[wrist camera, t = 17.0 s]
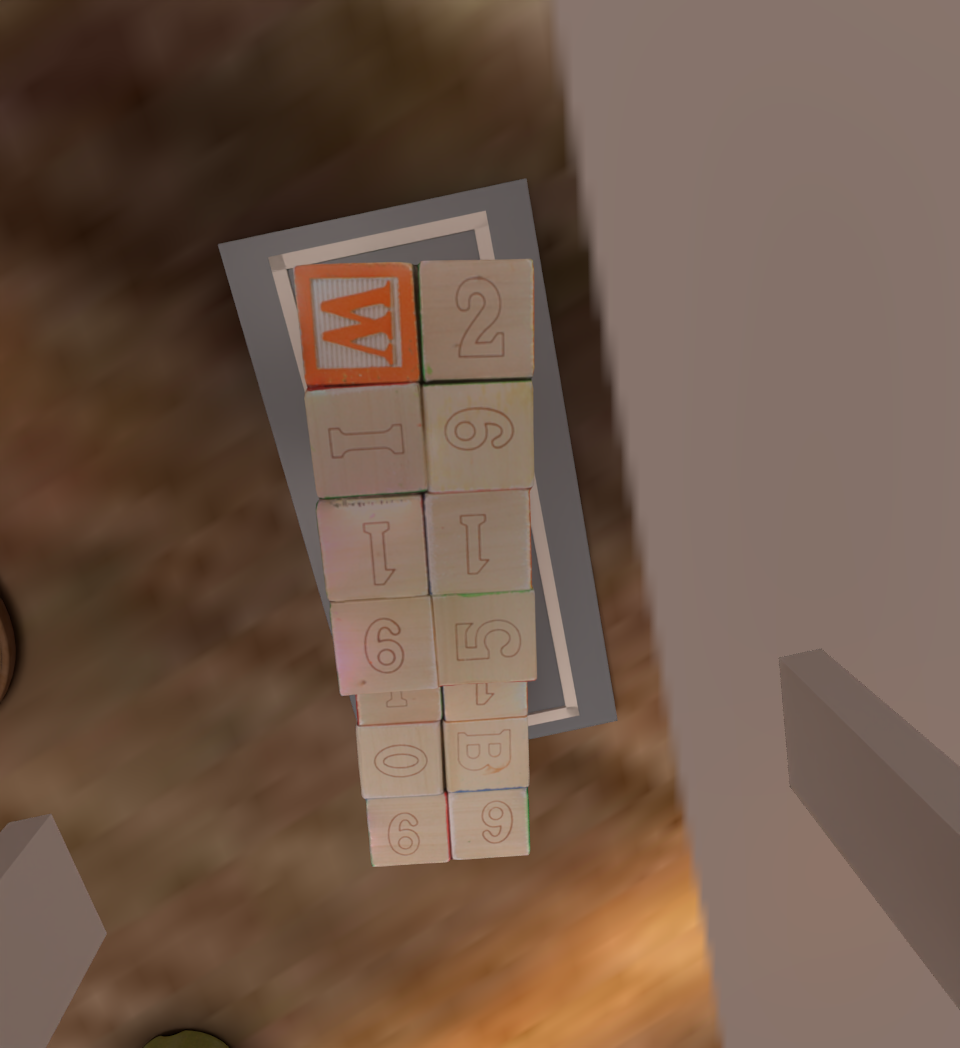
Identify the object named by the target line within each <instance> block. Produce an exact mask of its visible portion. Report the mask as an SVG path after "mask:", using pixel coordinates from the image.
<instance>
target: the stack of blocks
mask: <svg viewBox="0 0 960 1048" xmlns="http://www.w3.org/2000/svg"><path fill="white" fill-rule="evenodd" d="M293 275H294V286H295V295H296V304H297V312H298V321H299V330H300V340H301V349H302V359H303V369H304V378H305V382H306V385H307V389H306V391H305V396H304V400H305V408H306V416H307V424H308V432H309V439H310V447H311V456H312V464H313V471H314V479H315V486H316V493H317V496H318V497H319V500H318V502H317V503H316V518H317V528H318V534H319V541H320V550H321V558H322V566H323V573H324V581H325V589H326V594H327V598H328V599H329V601H330V620H331V628H332V636H333V644H334V652H335V661H336V668H337V676H338V683H339V692H340V695H341V696H346V695H355V697H356V709H357V723H356V739H357V752H358V763H359V773H360V782H361V792H362V796H363V798H364V799H366V810H367V822H368V832H369V843H370V855H371V864H372V866H373V867H375V866H393V865H407V864H423V863H442V862H448V861H449V860H451V859H457V860H461V859H478V858H492V857H507V856H520V855H529V853H530V827H529V799H528V786H529V746H528V717H527V713H528V688H527V682H528V681H535V680H536V679H537V653H536V622H535V591H534V588H533V585H532V558H531V511H530V490H531V489H532V487H533V486H534V435H533V385H532V377H533V373H534V266H533V260H532V259H506V260H434V261H421V262H420V263H419V264H418V265H413V264H412V263H406V262H376V263H338V264H307V265H297V266H294V268H293Z"/></svg>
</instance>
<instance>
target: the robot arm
mask: <svg viewBox="0 0 960 1048" xmlns="http://www.w3.org/2000/svg"><path fill="white" fill-rule="evenodd" d="M779 666H780V677H781V688H782V700H783V711H784V724H785V736H786V747H787V759H788V771H789V783H790V787H791V789H792V790H793V791H794V793H795V794H796V795H797V797H798V798H799V799H800V801H801V802H802V803H803V805H804V806H805V807H806V809H807V810H808V811H809V813H810V814H811V815H812V816H813V818H814V819H815V820H816V822H817V823H818V824H819V826H820V827H821V828H822V829H823V831H824V832H825V833H826V835H827V836H828V838H829V839H830V840H831V841H832V843H833V844H834V845H835V847H836V848H837V849H838V851H839V852H840V853H841V855H842V856H843V857H844V859H845V860H846V861H847V862H848V864H849V865H850V866H851V868H852V869H853V870H854V872H855V873H856V874H857V876H858V877H859V878H860V880H861V881H862V882H863V884H864V885H865V886H866V887H867V889H868V890H869V892H870V893H871V894H872V895H873V897H874V898H875V899H876V901H877V902H878V903H879V904H880V906H881V907H882V909H883V910H884V911H885V912H886V914H887V915H888V917H889V918H890V919H891V920H892V922H893V923H894V924H895V926H896V927H897V928H898V929H899V931H900V932H901V934H902V935H903V936H904V938H905V939H906V940H907V941H908V943H909V944H910V945H911V947H912V948H913V949H914V951H915V952H916V953H917V955H918V956H919V957H920V959H921V960H922V961H923V963H924V964H925V965H926V966H927V968H928V969H929V970H930V972H931V973H932V974H933V976H934V977H935V978H936V980H937V981H938V982H939V984H940V985H941V986H942V988H943V989H944V990H945V992H946V993H947V994H948V995H949V997H950V998H951V999H952V1001H953V1002H954V1003H955V1005H956V1006H957V1007H958V1008H959V1010H960V766H958V765H957V764H956V763H955V762H954V761H952V760H951V759H950V758H949V757H948V756H947V755H946V754H944V753H943V752H942V751H941V750H940V749H938V748H937V747H936V746H935V745H934V744H933V743H931V742H930V741H929V740H928V739H927V738H926V737H924V736H923V735H922V734H921V733H920V732H918V731H917V730H916V729H915V728H914V727H913V726H912V725H910V724H909V723H908V722H907V721H906V720H904V719H903V718H902V717H901V716H900V715H899V714H897V713H896V712H895V711H894V710H893V709H891V708H890V707H889V706H888V705H887V704H886V703H884V702H883V701H882V700H881V699H880V698H879V697H877V696H876V695H875V694H874V693H873V692H872V691H870V690H869V689H868V688H867V687H866V686H865V685H863V684H862V683H861V682H860V681H858V679H856V678H855V677H854V676H853V675H852V674H850V673H849V672H848V671H847V670H846V669H845V668H843V667H842V666H841V665H840V664H839V663H838V662H836V661H835V660H834V659H833V658H832V657H831V656H829V655H828V654H827V653H826V652H825V651H824V650H822V649H817V650H812V651H807V652H803V653H798V654H793V655H789V656H784V657H779ZM106 934H107V933H106V931H105V929H104V927H103V924H102V922H101V920H100V918H99V916H98V914H97V911H96V909H95V907H94V905H93V903H92V901H91V899H90V896H89V894H88V892H87V890H86V888H85V886H84V883H83V881H82V879H81V877H80V875H79V873H78V871H77V868H76V866H75V864H74V862H73V860H72V858H71V855H70V853H69V851H68V849H67V847H66V845H65V842H64V840H63V838H62V836H61V834H60V832H59V830H58V827H57V825H56V823H55V821H54V819H53V817H52V814H48V815H43V816H38V817H34V818H29V819H24V820H20V821H15V822H10V823H8V824H7V825H6V827H5V828H4V829H3V830H2V831H1V832H0V1048H46V1046H47V1045H48V1043H49V1041H50V1039H51V1037H52V1035H53V1033H54V1031H55V1030H56V1028H57V1026H58V1024H59V1022H60V1020H61V1018H62V1016H63V1015H64V1013H65V1011H66V1009H67V1007H68V1005H69V1003H70V1001H71V1000H72V998H73V996H74V994H75V992H76V990H77V988H78V986H79V985H80V983H81V981H82V979H83V977H84V975H85V973H86V971H87V970H88V968H89V966H90V964H91V962H92V960H93V958H94V956H95V955H96V953H97V951H98V949H99V947H100V945H101V943H102V941H103V940H104V938H105V936H106Z"/></svg>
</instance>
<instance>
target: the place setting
mask: <svg viewBox="0 0 960 1048" xmlns="http://www.w3.org/2000/svg"><path fill="white" fill-rule="evenodd" d="M0 648H1V669H0V703H1V701H2V699H3V697H4V696H5V694H6V692H7V690H8V688H9V685H10V682H11V679H12V677H13V672H14V667H15V658H16V645H15V637H14V631H13V627H12V623H11V620H10V617H9V614H8V612H7V609H6V607H5V605H4V603H3V601H2V599H1V598H0Z"/></svg>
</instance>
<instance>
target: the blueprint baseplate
mask: <svg viewBox="0 0 960 1048" xmlns="http://www.w3.org/2000/svg"><path fill="white" fill-rule="evenodd" d="M218 247H219V250H220V254H221V257H222V261H223V264H224V268H225V271H226V274H227V278H228V281H229V285H230V288H231V292H232V295H233V298H234V302H235V305H236V309H237V312H238V316H239V319H240V322H241V326H242V329H243V333H244V336H245V340H246V343H247V346H248V350H249V353H250V357H251V360H252V364H253V367H254V370H255V374H256V377H257V381H258V384H259V388H260V391H261V394H262V398H263V401H264V405H265V408H266V412H267V415H268V418H269V422H270V425H271V429H272V432H273V436H274V439H275V442H276V446H277V449H278V453H279V456H280V460H281V463H282V466H283V470H284V473H285V477H286V480H287V484H288V487H289V490H290V494H291V497H292V501H293V504H294V508H295V511H296V514H297V518H298V521H299V525H300V528H301V532H302V535H303V539H304V542H305V545H306V549H307V552H308V556H309V559H310V563H311V566H312V569H313V573H314V576H315V580H316V583H317V587H318V590H319V593H320V597H321V600H322V604H323V607H324V611H325V614H326V617H327V621H328V624H329V628H330V631H331V635H332V628H331V620H330V601H329V599H328V598H327V594H326V589H325V581H324V573H323V566H322V558H321V550H320V541H319V534H318V528H317V518H316V503H317V502H318V500H319V497H318V496H317V493H316V486H315V479H314V471H313V464H312V456H311V447H310V439H309V432H308V424H307V416H306V408H305V400H304V396H305V391H306V389H307V385H306V382H305V378H304V369H303V359H302V349H301V340H300V330H299V321H298V312H297V304H296V295H295V286H294V275H293V268H294V266H297V265H307V264H338V263H376V262H406V263H412V264H413V265H418V264H419V263H420V262H421V261H434V260H506V259H532V260H533V266H534V373H533V377H532V385H533V435H534V486H533V487H532V489H531V490H530V511H531V558H532V585H533V588H534V591H535V622H536V653H537V679H536V680H535V681H528V682H527V688H528V713H527V717H528V739H533V738H537V737H542V736H547V735H552V734H556V733H561V732H566V731H571V730H575V729H580V728H585V727H590V726H594V725H599V724H604V723H608V722H613V721H617V715H616V709H615V703H614V697H613V691H612V685H611V679H610V673H609V667H608V661H607V655H606V649H605V643H604V637H603V632H602V626H601V620H600V614H599V608H598V602H597V596H596V590H595V584H594V578H593V572H592V566H591V560H590V554H589V548H588V542H587V536H586V530H585V524H584V518H583V513H582V507H581V501H580V495H579V489H578V483H577V477H576V471H575V465H574V459H573V453H572V447H571V441H570V435H569V429H568V423H567V417H566V411H565V405H564V399H563V394H562V388H561V382H560V376H559V370H558V364H557V358H556V352H555V346H554V340H553V334H552V328H551V322H550V316H549V310H548V304H547V298H546V292H545V286H544V280H543V274H542V269H541V263H540V257H539V251H538V245H537V239H536V233H535V227H534V221H533V215H532V209H531V203H530V197H529V191H528V185H527V179H521V180H516V181H512V182H507V183H502V184H498V185H493V186H488V187H484V188H479V189H474V190H470V191H465V192H460V193H456V194H451V195H446V196H442V197H437V198H432V199H427V200H423V201H418V202H413V203H409V204H404V205H399V206H395V207H390V208H385V209H381V210H376V211H371V212H367V213H362V214H357V215H353V216H348V217H343V218H339V219H334V220H329V221H325V222H320V223H315V224H311V225H306V226H301V227H297V228H292V229H287V230H283V231H278V232H273V233H268V234H264V235H259V236H254V237H250V238H245V239H240V240H236V241H231V242H226V243H222V244H218ZM332 638H333V636H332ZM349 696H350V700H351V703H352V707H353V710H354V713H355V717H356V720H357V709H356V697H355V695H349Z"/></svg>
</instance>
